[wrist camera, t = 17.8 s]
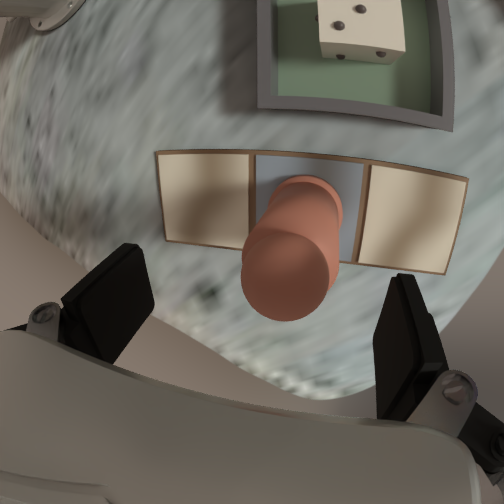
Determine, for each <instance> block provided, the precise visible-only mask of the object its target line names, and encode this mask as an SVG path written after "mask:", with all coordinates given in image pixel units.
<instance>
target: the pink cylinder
mask: <svg viewBox="0 0 504 504" xmlns="http://www.w3.org/2000/svg"><path fill="white" fill-rule="evenodd" d="M342 219H343V210H342V203H341V199H340V197H339V195H338V193H337V191H336V190H335V189H334V187H333V186H332V185H331V184H330V183H328V182H327V181H326V180H324V179H322V178H320V177H317V176H314V175H308V174H302V175H296V176H292V177H290V178H288V179H286V180H285V181H283V182H282V183H281V184H280V185H279V186H278V187H277V188H276V190H275V191H274V192H273V194H272V195H271V197H270V200H269V203H268V208H267V210H266V211H265V213H264V214H263V215H262V217H261V218H260V220H259V221H258V223H257V224H256V225H255V227H254V228H253V230H252V231H251V233H250V234H249V235H248V237H247V239H246V241H245V243H244V246H243V250H242V264H243V265H242V270H241V285H242V289H243V292H244V295H245V297H246V299H247V301H248V302H249V303H250V305H251V306H252V307H253V308H254V309H255V310H256V311H257V312H258V313H260V314H261V315H263V316H265V317H267V318H269V319H273V320H277V321H294V320H298V319H300V318H303V317H305V316H307V315H309V314H310V313H312V312H313V311H314V310H315V309H316V308H317V307H318V306H319V305H320V304H321V302H322V301H323V299H324V297H325V295H326V293H327V291H328V290H329V289H330V288H331V287H332V285H333V284H334V282H335V280H336V277H337V275H338V271H339V229H340V227H341V224H342Z"/></svg>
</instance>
